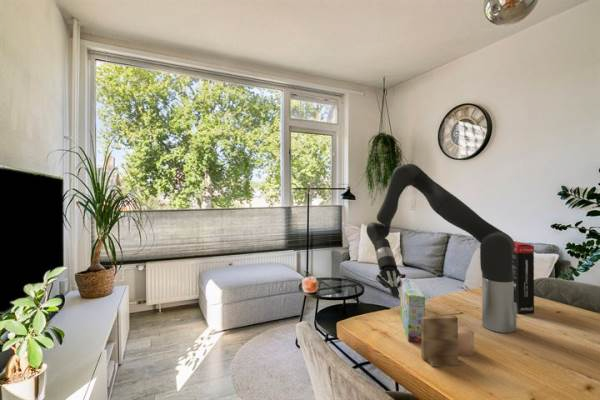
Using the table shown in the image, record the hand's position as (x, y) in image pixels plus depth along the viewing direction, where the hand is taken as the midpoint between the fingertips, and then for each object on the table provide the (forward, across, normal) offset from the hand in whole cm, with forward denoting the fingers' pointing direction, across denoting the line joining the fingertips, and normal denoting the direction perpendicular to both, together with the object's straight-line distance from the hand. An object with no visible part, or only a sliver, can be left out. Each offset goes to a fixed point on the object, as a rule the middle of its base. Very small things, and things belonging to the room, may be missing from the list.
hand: (396, 296), depth 120 cm
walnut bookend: (+30, 0, -21) cm, 36 cm away
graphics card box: (+4, +49, +5) cm, 49 cm away
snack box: (+15, 0, -6) cm, 16 cm away
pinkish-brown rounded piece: (+26, +9, -18) cm, 33 cm away
